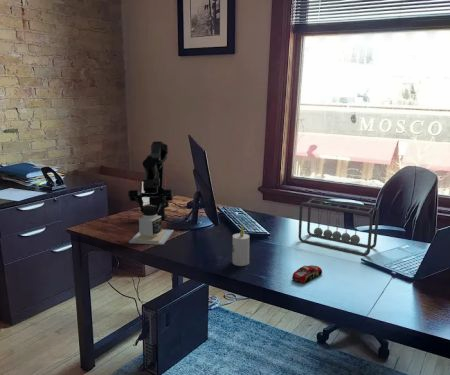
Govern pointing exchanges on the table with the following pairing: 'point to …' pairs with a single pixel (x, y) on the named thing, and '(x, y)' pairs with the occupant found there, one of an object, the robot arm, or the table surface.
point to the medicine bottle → (150, 221)
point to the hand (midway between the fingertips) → (149, 212)
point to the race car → (306, 273)
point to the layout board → (152, 238)
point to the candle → (241, 248)
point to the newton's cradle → (337, 235)
